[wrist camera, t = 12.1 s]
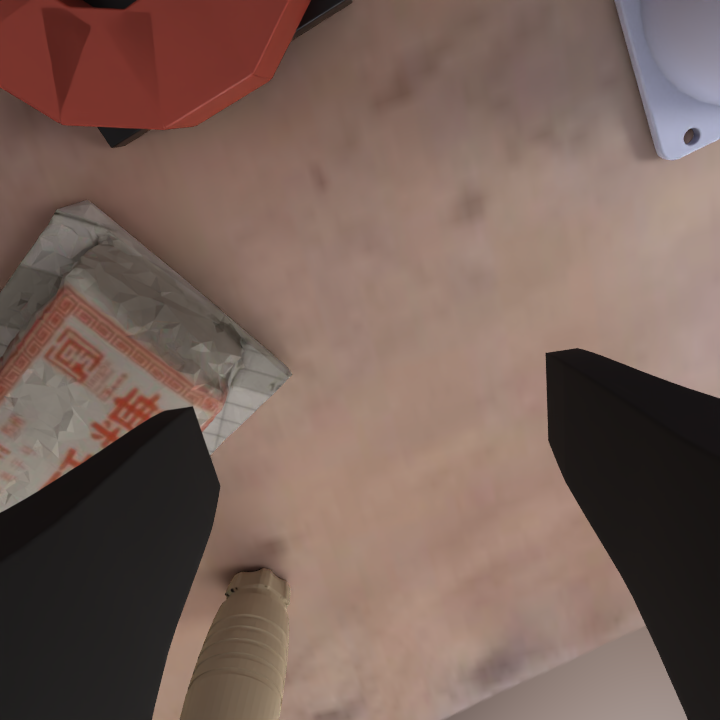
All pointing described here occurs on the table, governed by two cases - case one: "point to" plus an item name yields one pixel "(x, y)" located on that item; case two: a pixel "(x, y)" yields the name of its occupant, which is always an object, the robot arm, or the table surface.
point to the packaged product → (111, 352)
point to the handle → (243, 653)
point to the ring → (141, 57)
